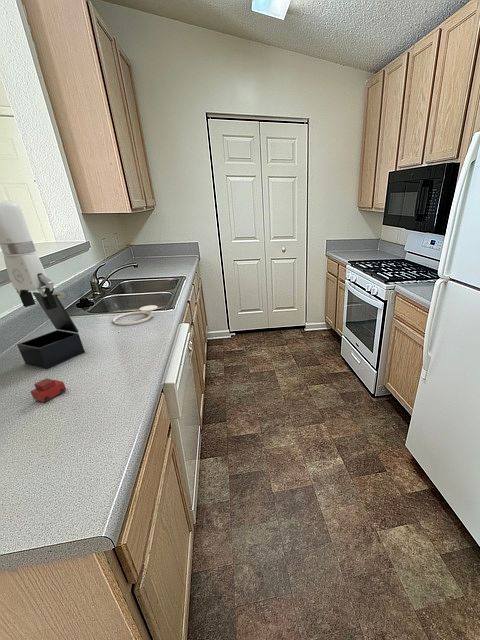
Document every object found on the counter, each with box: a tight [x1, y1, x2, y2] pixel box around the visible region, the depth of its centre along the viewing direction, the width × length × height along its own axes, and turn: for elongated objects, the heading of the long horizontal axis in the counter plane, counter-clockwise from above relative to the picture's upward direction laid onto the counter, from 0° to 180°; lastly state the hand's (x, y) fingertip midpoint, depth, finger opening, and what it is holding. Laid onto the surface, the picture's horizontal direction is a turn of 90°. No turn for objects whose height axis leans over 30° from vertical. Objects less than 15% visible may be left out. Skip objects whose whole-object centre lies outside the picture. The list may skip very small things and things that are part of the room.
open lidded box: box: [16, 329, 86, 370], centre depth 119 cm, size 14×11×8 cm
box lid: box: [32, 291, 80, 334], centre depth 120 cm, size 15×11×5 cm
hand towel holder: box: [112, 304, 158, 326], centre depth 158 cm, size 17×4×21 cm
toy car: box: [30, 377, 67, 403], centre depth 97 cm, size 7×4×5 cm, turn 159°
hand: (40, 307), depth 102 cm, fingers open, 9 cm apart
